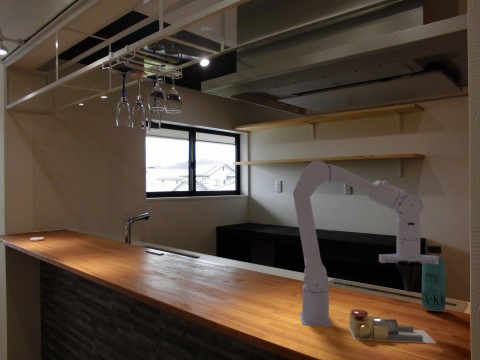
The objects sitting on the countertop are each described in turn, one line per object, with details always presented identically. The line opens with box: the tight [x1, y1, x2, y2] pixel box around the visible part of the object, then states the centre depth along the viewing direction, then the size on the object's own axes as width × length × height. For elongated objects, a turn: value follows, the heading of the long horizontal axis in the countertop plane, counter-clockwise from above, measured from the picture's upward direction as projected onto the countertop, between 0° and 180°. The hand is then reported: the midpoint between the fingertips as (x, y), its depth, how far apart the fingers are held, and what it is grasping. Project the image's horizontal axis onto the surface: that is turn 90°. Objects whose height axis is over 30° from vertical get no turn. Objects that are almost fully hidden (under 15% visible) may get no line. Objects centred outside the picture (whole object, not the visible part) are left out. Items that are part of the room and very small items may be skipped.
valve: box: [349, 308, 389, 342], centre depth 92 cm, size 10×8×5 cm
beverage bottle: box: [420, 244, 447, 312], centre depth 110 cm, size 6×7×20 cm
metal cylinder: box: [371, 318, 399, 334], centre depth 91 cm, size 4×6×4 cm, turn 84°
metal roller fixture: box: [347, 324, 437, 344], centre depth 92 cm, size 8×19×2 cm, turn 84°
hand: (408, 290), depth 97 cm, fingers closed
